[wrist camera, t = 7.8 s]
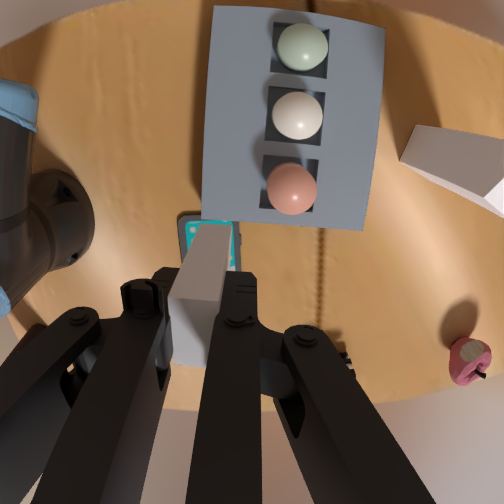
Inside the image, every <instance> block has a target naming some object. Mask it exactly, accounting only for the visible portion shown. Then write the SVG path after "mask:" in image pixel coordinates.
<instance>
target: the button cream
mask: <svg viewBox="0 0 504 504" xmlns="http://www.w3.org/2000/svg"><path fill="white" fill-rule="evenodd" d="M271 118H272V122H273V125H274V126H275V128H276V129H277V130H278V131H279V132H280V133H282V134H283V135H285V136H287V137H289V138H292V139H298V140H300V139H306V138H309V137H311V136H312V135H314V134H315V133H316V132H317V131H318V130H319V128H320V126H321V124H322V119H323V114H322V109H321V106H320V105H319V103H318V102H317V100H316V99H315V98H313V97H312V96H311V95H309V94H307V93H304V92H291V93H288V94H286V95H284V96H283V97H281V98H280V99H278V100H277V101H276V103H275V104H274V106H273V108H272V112H271Z"/></svg>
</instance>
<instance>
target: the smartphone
mask: <svg viewBox="0 0 504 504" xmlns="http://www.w3.org/2000/svg"><path fill="white" fill-rule="evenodd" d="M200 223H204V224H221V225H232V237H231V258H230V271H240V272H241V256H240V245H242V244H241V235H240V233H239V221H223V220H206V219H201V214H188V215H184V216H182V217H181V218H180V219H179V220H178V235H179V240H180V242H179V244H180V249H181V256H182V263H183V261H184V258H185V256H186V254H187V252H188V249H189V247H190V245H191V243H192V241H193V239H194V236H195V234H196V232H197V230H198V228H199V226H200Z"/></svg>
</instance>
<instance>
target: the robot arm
mask: <svg viewBox="0 0 504 504" xmlns="http://www.w3.org/2000/svg"><path fill="white" fill-rule="evenodd" d="M38 105H39V96H38V93H37V91H36V90H35V88H34V87H32V86H31V85H28V84H24V83H20V82H16V81H10V80H4V79H0V319H1V318H2V317H3V316H5V315H7V314H9V312H10V311H11V309H12V308H13V307H14V306H15V305H16V304H17V303H18V302H19V301H20V300H21V299H22V298H23V297H24V296H25V294H26V293H27V292H28V291H29V290H30V289H31V288H32V287H33V286H34V285H35V284H36V283H37V282H38V281H39V280H40V279H41V278H42V277H43V276H44V275H45V274H46V273H47V272H51V271H54V270H57V269H61V268H65V267H68V266H70V265H72V264H73V263H75V262H76V261H77V260H79V259H80V258H81V257H82V256H83V255H84V254H85V253H86V251H87V250H88V249H89V247H90V245H91V242H92V240H93V236H94V229H95V220H94V213H93V208H92V205H91V202H90V200H89V198H88V196H87V194H86V192H85V190H84V189H83V188H82V186H81V185H80V184H79V183H78V182H77V181H76V180H75V179H74V178H73V177H72V176H70V175H69V174H67V173H65V172H63V171H60V170H55V169H47V170H43V171H40V172H37V173H35V174H32V175H31V169H32V158H33V149H34V141H35V134H36V132H37V127H36V124H37V113H38ZM231 237H232V225H221V224H204V223H200V226H199V228H198V230H197V232H196V234H195V236H194V239H193V241H192V243H191V245H190V247H189V249H188V252H187V254H186V256H185V258H184V261H183V263H182V265H181V267H180V268H170V267H162V268H161V269H159V270H158V271H156V272H155V273H154V275H153V277H152V279H135V280H131V281H129V282H126V283H124V284H123V285H122V286H121V287H120V289H121V296H122V303H123V309H124V311H123V312H122V314H121V316H120V317H117V318H109V319H99V315H98V313H97V311H96V310H94V309H92V308H90V307H76V308H72V309H70V310H68V311H66V312H65V313H63V314H62V315H61V316H60V317H59V318H57V319H56V320H55V321H54V322H53V323H51V324H50V325H49V326H48V327H47V328H45V329H44V330H43V331H42V332H41V333H40V334H38V335H37V336H36V337H35V338H34V339H33V340H31V341H30V342H29V343H28V344H27V345H26V346H25V347H23V348H22V349H21V350H20V351H19V352H18V353H17V354H16V355H14V356H13V357H12V358H11V359H10V360H9V361H8V362H7V363H6V364H5V365H3V366H2V367H1V368H0V504H20V502H21V501H22V500H23V498H24V497H25V496H26V494H27V493H28V492H29V490H30V489H31V488H32V486H33V485H34V484H35V482H36V481H37V480H38V478H39V477H40V475H41V474H42V473H43V474H42V477H41V479H40V482H39V484H38V487H37V489H36V492H35V494H34V497H33V499H32V501H31V503H30V504H140V500H141V495H142V491H143V486H144V481H145V477H146V473H147V469H148V464H149V460H150V456H151V451H152V447H153V443H154V439H155V435H156V430H157V427H158V423H159V419H160V415H161V411H162V407H163V403H164V399H165V395H166V392H167V388H168V384H169V380H170V377H171V368H170V361H171V358H172V354H173V362H174V364H175V365H184V366H194V367H204V368H206V371H205V377H204V383H203V389H202V395H201V401H200V408H199V414H198V420H197V426H196V433H195V440H194V446H193V453H192V459H191V466H190V473H189V480H188V487H187V494H186V501H185V504H262V455H261V454H262V451H261V394H264V395H267V396H271V397H273V402H274V404H275V407H276V410H277V412H278V415H279V417H280V420H281V422H282V425H283V428H284V430H285V432H286V435H287V438H288V440H289V443H290V445H291V448H292V450H293V453H294V455H295V458H296V460H297V463H298V465H299V468H300V470H301V472H302V475H303V478H304V480H305V482H306V485H307V487H308V490H309V492H310V494H311V497H312V499H313V501H314V504H436V502H435V501H434V499H433V498H432V496H431V495H430V493H429V491H428V490H427V488H426V487H425V485H424V484H423V482H422V481H421V479H420V477H419V476H418V474H417V472H416V471H415V469H414V468H413V466H412V465H411V463H410V461H409V460H408V458H407V457H406V455H405V454H404V452H403V451H402V449H401V447H400V446H399V444H398V443H397V441H396V440H395V438H394V437H393V435H392V434H391V432H390V430H389V429H388V427H387V426H386V424H385V423H384V421H383V420H382V418H381V416H380V415H379V413H378V412H377V410H376V409H375V408H374V406H373V404H372V403H371V401H370V400H369V398H368V397H367V395H366V393H365V392H364V390H363V389H362V387H361V386H360V384H359V383H358V381H357V380H356V378H355V377H354V375H353V374H352V372H351V371H350V369H349V368H348V366H347V365H346V363H345V362H344V360H343V359H342V357H341V356H340V354H339V353H338V351H337V350H336V348H335V347H334V345H333V344H332V342H331V341H330V339H329V338H328V336H327V335H326V334H325V333H324V332H323V331H322V330H320V329H318V328H316V327H314V326H309V325H295V326H291V327H290V328H288V329H287V330H285V332H284V334H283V333H279V332H275V331H273V330H270V329H268V328H266V327H265V326H263V325H262V324H261V323H260V321H259V320H258V316H257V279H256V277H255V276H254V275H253V274H252V272H240V271H230V258H231ZM72 363H73V366H74V368H73V369H72V370H71V371H70V372H68V371H67V368H68V367H69V366H70V365H71V364H72Z"/></svg>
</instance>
